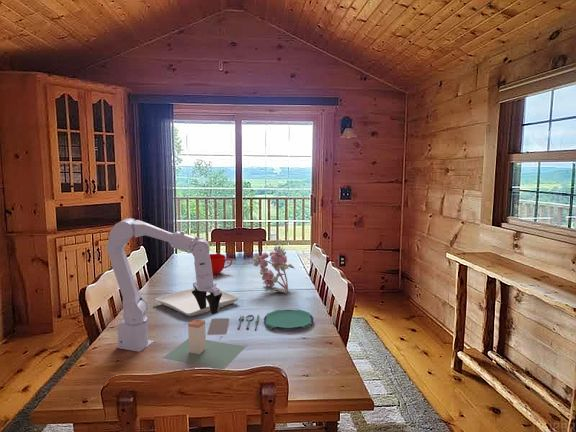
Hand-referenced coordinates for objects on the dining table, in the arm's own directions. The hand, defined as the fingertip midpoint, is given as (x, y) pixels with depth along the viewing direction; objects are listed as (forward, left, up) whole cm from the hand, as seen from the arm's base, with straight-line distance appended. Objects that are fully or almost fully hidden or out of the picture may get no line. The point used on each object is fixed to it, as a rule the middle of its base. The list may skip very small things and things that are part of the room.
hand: (208, 310), depth 139 cm
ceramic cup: (-40, +77, -11) cm, 88 cm away
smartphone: (-3, +11, -12) cm, 17 cm away
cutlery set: (+16, +24, -12) cm, 31 cm away
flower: (0, +61, -11) cm, 62 cm away
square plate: (-24, +30, -12) cm, 40 cm away
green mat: (+3, -9, -11) cm, 14 cm away
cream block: (0, -9, -11) cm, 14 cm away
